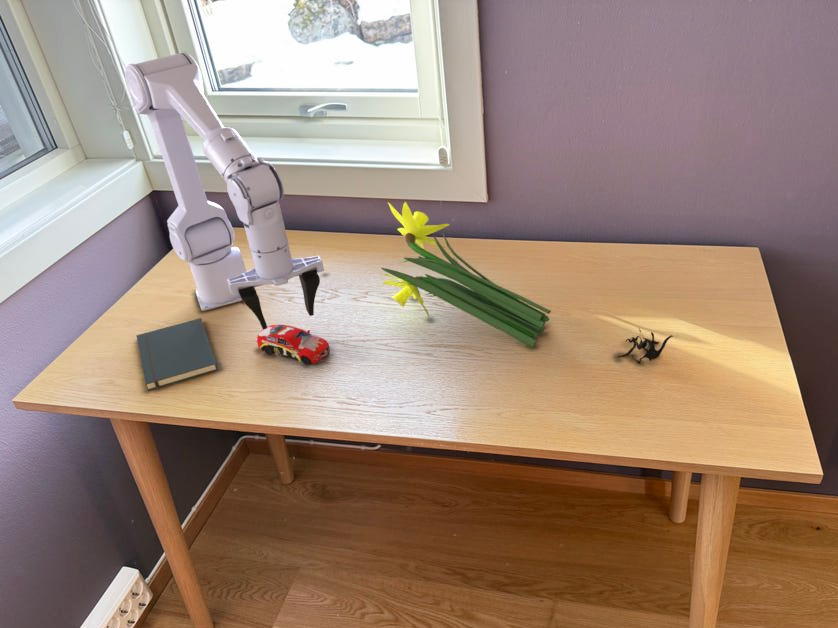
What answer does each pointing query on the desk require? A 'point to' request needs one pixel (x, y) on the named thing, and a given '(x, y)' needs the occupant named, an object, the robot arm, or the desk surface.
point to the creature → (651, 352)
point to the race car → (293, 344)
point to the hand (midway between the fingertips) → (287, 319)
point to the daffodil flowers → (484, 294)
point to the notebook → (175, 354)
